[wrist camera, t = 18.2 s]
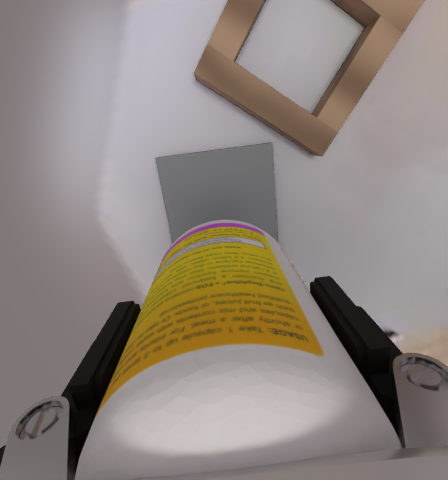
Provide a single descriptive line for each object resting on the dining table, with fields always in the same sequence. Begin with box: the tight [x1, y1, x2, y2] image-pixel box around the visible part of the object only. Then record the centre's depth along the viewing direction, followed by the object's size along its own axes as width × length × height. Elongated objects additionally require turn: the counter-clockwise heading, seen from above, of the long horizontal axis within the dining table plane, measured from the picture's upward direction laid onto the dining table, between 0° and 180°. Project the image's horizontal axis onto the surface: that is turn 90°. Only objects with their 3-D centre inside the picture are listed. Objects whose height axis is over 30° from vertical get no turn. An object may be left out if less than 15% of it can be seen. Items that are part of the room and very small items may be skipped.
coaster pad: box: [155, 143, 278, 243], centre depth 30 cm, size 12×12×1 cm
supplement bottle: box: [75, 220, 402, 480], centre depth 8 cm, size 7×7×13 cm
